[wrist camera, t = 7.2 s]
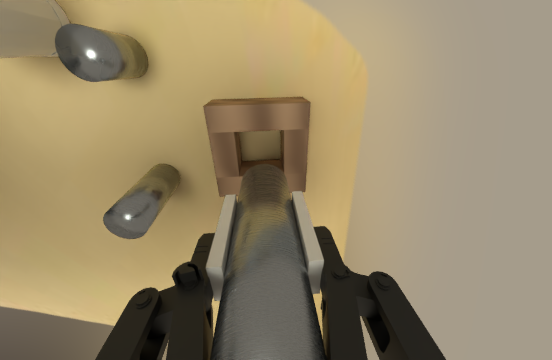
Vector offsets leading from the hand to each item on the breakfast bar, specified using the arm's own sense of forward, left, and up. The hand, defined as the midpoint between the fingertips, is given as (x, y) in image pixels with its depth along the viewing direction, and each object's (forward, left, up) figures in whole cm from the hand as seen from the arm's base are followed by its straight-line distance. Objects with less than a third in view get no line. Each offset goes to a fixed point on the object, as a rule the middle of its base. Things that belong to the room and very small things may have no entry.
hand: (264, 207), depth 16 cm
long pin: (0, 0, -4) cm, 4 cm away
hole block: (0, 0, -16) cm, 16 cm away
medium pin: (-15, -5, -16) cm, 23 cm away
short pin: (-15, +11, -16) cm, 25 cm away
